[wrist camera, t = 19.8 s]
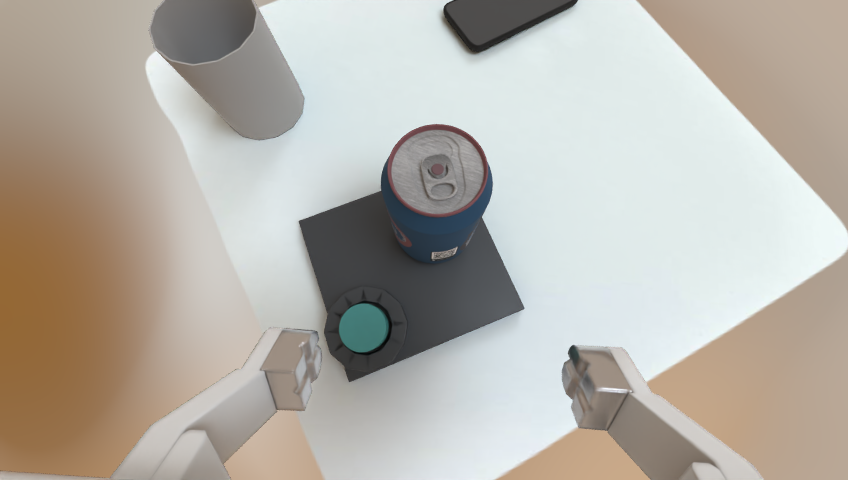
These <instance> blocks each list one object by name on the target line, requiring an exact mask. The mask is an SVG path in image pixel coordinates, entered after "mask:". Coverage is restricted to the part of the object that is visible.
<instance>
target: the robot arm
mask: <svg viewBox="0 0 848 480" xmlns="http://www.w3.org/2000/svg"><path fill="white" fill-rule="evenodd" d="M318 340H319V337H318V332H317V331H313V330H301V329H289V328H274V327H270V328H268V329H267V330H266V331H265V332H264V334H263V335H262V337H261V338H260V340H259V342H258V343H257V345H256V346H255V348H254V349H253V351H252V353H251V354H250V356H249V357H248V359H247V361H246V362H245V364H244V365H243V367H242V368H241V369H235V370H234V371H232V372H231V373H229V374H228V375H227V376H225V377H223V378H222V379H220V380H219V381H217V382H216V383H214V384H213V385H211V386H210V387H208V388H207V389H205V390H204V391H202V392H201V393H199V394H198V395H196V396H194V397H193V398H191V399H190V400H188V401H187V402H185V403H184V404H182V405H181V406H180V407H178V408H176V409H175V410H173V411H172V412H170V413H169V414H167V415H166V416H164V417H163V418H161V419H160V420H158V421H157V422H155V423H153V424H152V425H151V426H150V427H149V428H148V430H147V431H146V432H145V433H144V435H143V436H142V437H141V438H140V440H139V441H138V442H137V444H136V445H135V446H134V447H133V449H132V450H131V451H130V453H129V454H128V455H127V456H126V458H125V459H124V460H123V461H122V463H121V464H120V465H119V467H118V468H117V469H116V471H115V472H114V473H113V474H112V476H111V477H110V478H100V477H84V476H71V475H56V474H42V473H28V472H12V471H0V480H231V477H230V476H229V474H228V472H227V470H226V468H225V466H224V465H223V464H224V463H225V462H226V461H227V460H228V459H229V458H230V457H231V456H232V455H233V454H234V453H235V452H236V451H237V450H238V449H239V448H240V447H241V446H242V445H243V444H244V443H245V442H246V441H247V440H248V439H249V438H250V437H251V436H252V435H253V434H254V433H256V432H257V431H258V430H259V429H260V428H261V427H262V426H263V425H264V424H265V423H266V422H267V421H268V420H269V419H270V418H271V417H272V416H273V415H274V414H275V413H276V412H277V410H295V411H305V408H306V406H307V403H308V400H309V398H310V395H311V393H312V388H311V383H312V382H313V381H314V380H316V379H317V377H318V374H319V371H320V367H321V362H322V353H321V348H320V347H318V346H317V343H318ZM568 355H569V357H570V359H569V360H568V361H566V362H565V363H564V365H563V368H562V382H563V387H564V390H565V392H566V394H567V395H568V396H569V397H570V398H571V399H572V400H573V403H572V405H571V409H572V412H573V414H574V417H575V420H576V422H577V425H578V428H584V429H595V430H605V431H608V433H609V435H610V436H611V437H612V438H613V439H614V440H615V441H616V442H617V443H618V444H619V446H620V447H621V448H622V449H623V450H624V451H625V452H626V453H627V454H628V455H629V456H630V458H631V459H632V460H633V461H634V462H635V463H636V464H637V465H638V466H639V467H640V468H641V470H642V471H643V472H644V473H645V474H646V475H647V476H648V477H649V478H650V479H651V480H764V479H763V478H762V476H761V475H760V474H759V472H758V471H757V470H756V468H755V467H754V466H753V465H752V464H751V463H750V462H748V461H747V460H745V459H744V458H743V457H742V456H740V455H739V454H738V453H736V452H735V451H734V450H732V449H731V448H730V447H728V446H727V445H726V444H724V443H723V442H721V441H720V440H719V439H717V438H716V437H715V436H713V435H712V434H711V433H709V432H708V431H707V430H705V429H704V428H703V427H701V426H700V425H699V424H697V423H696V422H695V421H693V420H692V419H690V418H689V417H688V416H687V415H685V414H684V413H683V412H681V411H680V410H678V409H677V408H676V407H674V406H673V405H672V404H670V403H669V402H668V401H666V400H665V399H664V398H662V397H661V396H660V395H658V394H653V393H652V392H651V390H650V388H649V387H648V385H647V384H646V382H645V380H644V379H643V377H642V376H641V374H640V372H639V371H638V369H637V368H636V366H635V364H634V363H633V361H632V360H631V358H630V357H629V355H628V353H627V352H626V350H624V349H623V348H622V347H603V346H582V345H572V346H571V347H570V349H569V351H568Z"/></svg>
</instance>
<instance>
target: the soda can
mask: <svg viewBox="0 0 848 480" xmlns="http://www.w3.org/2000/svg"><path fill="white" fill-rule="evenodd" d="M492 187H493V182H492V174H491V170H490V167H489V165H488V162H487V159H486V156H485V154H484V151H483V150H482V148H481V146H480V145H479V144H478V142H477V141H476V140H475V139H474V138H473V137H472V136H470V135H469V134H468V133H466V132H464V131H463V130H461V129H458V128H456V127H453V126H449V125H442V124H433V125H426V126H422V127H419V128H416V129H414V130H412V131H410V132H409V133H407V134H406V135H405V136H403V137H402V138H401V139H400V140H399V141H398V143H397V144H396V145H395V147H394V148H393V150H392V152H391V154H390V156H389V158H388V159H387V161H386V163H385V165H384V168H383V171H382V176H381V190H382V195H383V198H384V201H385V204H386V208H387V211H388V214H389V217H390V220H391V223H392V226H393V229H394V232H395V236H396V239H397V241H398V243H399V245H400V246H401V248H402V249H403V250H404V251H405V252H406V253H407V254H408V255H409V256H411V257H412V258H414V259H416V260H418V261H421V262H425V263H443V262H446V261H449V260H451V259H453V258H455V257H457V256H458V255H459V254H460V253H461V252H462V251H463V250H464V249H465V248H466V247H467V245H468V243H469V241H470V239H471V237H472V235H473V233H474V231H475V229H476V227H477V225H478V223H479V221H480V219H481V217H482V215H483V213H484V211H485V209H486V207H487V205H488V203H489V201H490V198H491V194H492Z"/></svg>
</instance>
